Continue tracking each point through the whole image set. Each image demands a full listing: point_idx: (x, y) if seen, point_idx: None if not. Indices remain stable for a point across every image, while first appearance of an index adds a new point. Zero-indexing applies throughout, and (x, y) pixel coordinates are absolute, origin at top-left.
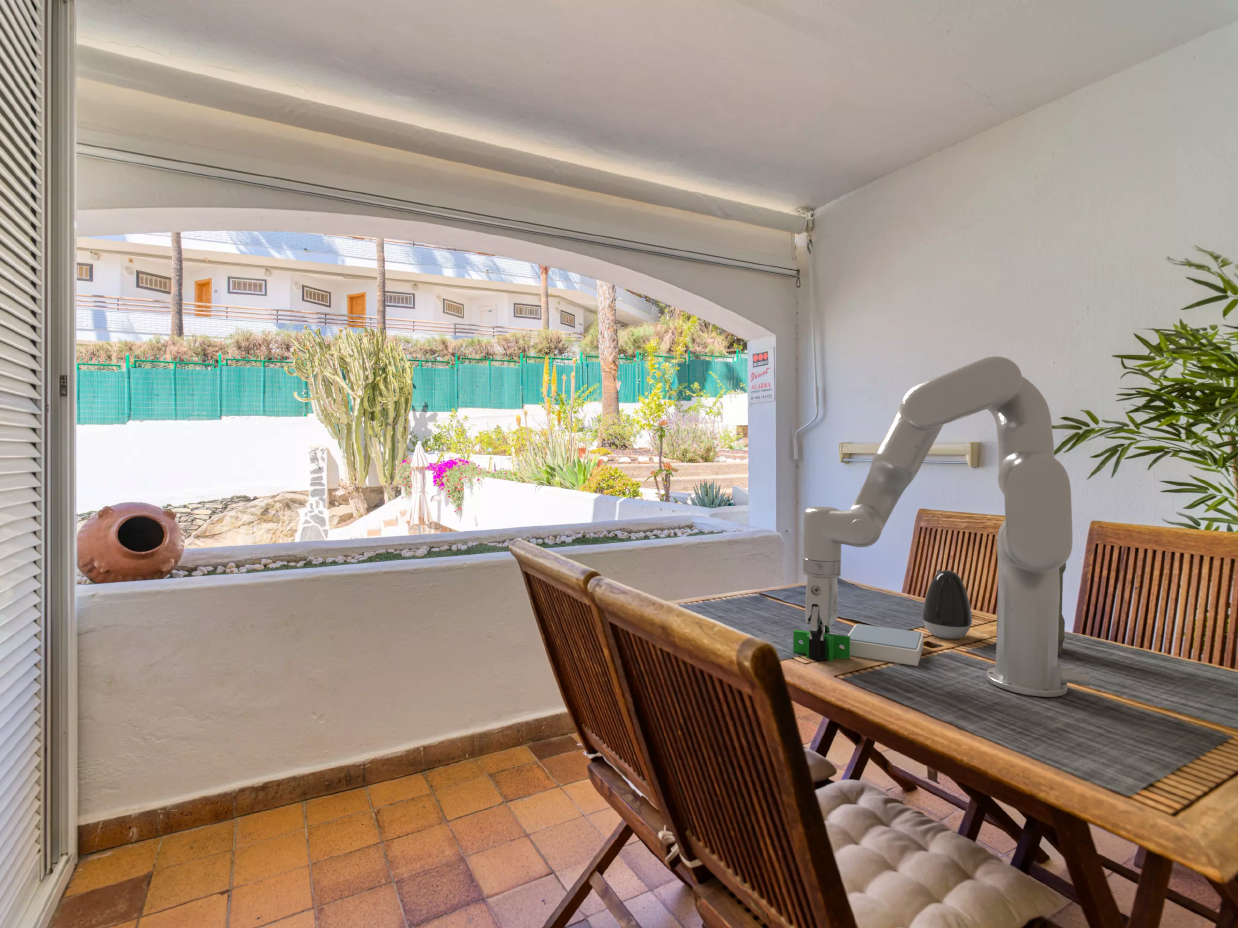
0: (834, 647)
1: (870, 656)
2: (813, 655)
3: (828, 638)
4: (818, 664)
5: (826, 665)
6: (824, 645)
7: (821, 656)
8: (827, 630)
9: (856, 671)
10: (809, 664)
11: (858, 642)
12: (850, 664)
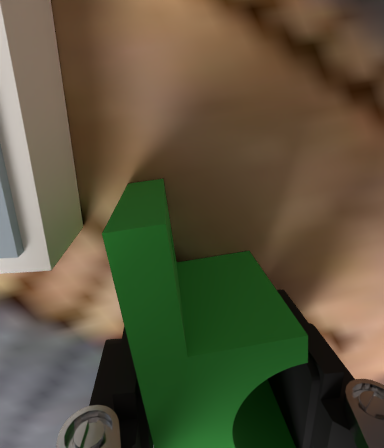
0: (180, 292)
1: (52, 39)
2: None
3: (265, 372)
4: (332, 295)
5: (332, 260)
6: (323, 347)
7: None
8: (122, 446)
9: (375, 92)
10: (348, 327)
11: (29, 143)
12: (258, 151)
